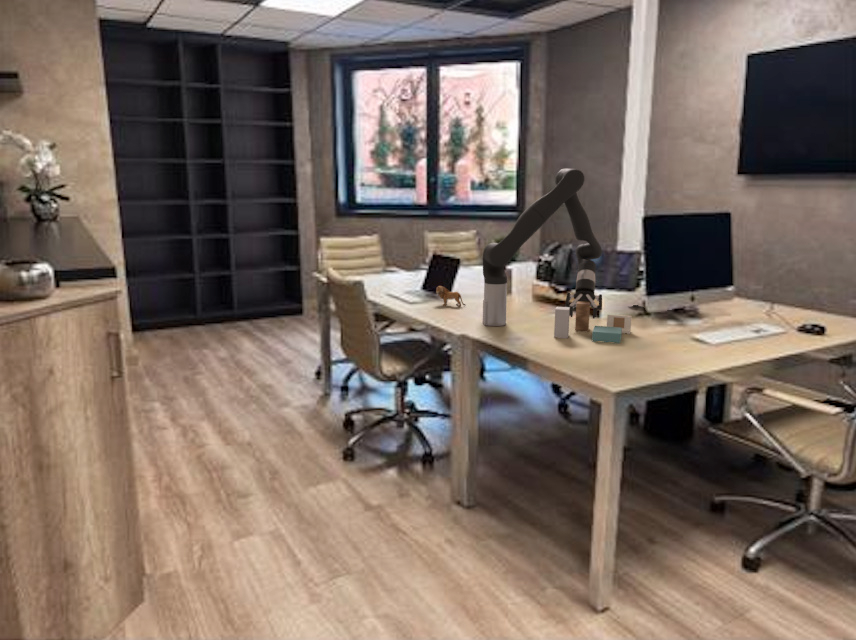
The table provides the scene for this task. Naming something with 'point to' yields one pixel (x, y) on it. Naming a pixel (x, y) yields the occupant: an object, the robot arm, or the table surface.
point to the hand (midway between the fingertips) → (582, 316)
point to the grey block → (561, 322)
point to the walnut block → (582, 316)
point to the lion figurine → (448, 295)
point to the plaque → (620, 322)
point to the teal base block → (607, 334)
